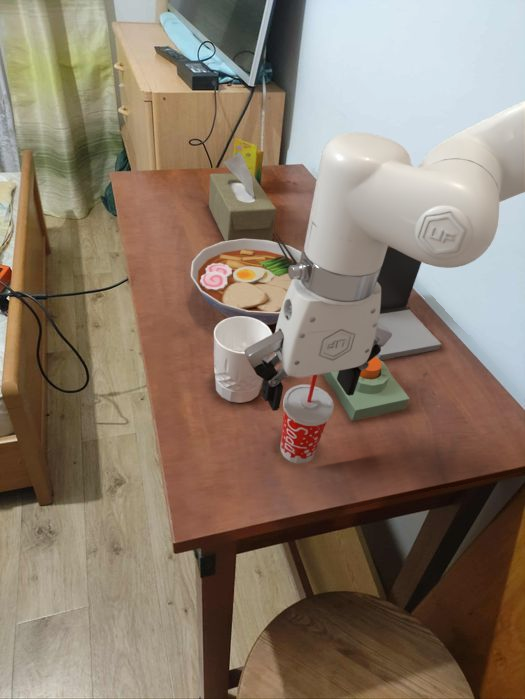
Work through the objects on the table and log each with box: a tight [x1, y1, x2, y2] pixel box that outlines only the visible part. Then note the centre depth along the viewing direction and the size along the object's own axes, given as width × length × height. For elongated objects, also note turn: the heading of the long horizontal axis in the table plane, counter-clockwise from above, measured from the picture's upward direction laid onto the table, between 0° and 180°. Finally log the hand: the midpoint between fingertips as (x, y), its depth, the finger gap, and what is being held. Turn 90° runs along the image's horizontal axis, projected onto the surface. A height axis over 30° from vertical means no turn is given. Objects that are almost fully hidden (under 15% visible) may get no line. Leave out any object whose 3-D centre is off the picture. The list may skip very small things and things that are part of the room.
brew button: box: [360, 357, 382, 379], centre depth 74 cm, size 4×4×2 cm
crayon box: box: [232, 137, 265, 187], centre depth 125 cm, size 7×3×12 cm, turn 52°
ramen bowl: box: [190, 232, 303, 326], centre depth 87 cm, size 25×23×8 cm
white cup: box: [213, 316, 273, 404], centre depth 71 cm, size 8×8×10 cm
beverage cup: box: [279, 374, 335, 464], centre depth 62 cm, size 6×6×14 cm
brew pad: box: [322, 356, 410, 422], centre depth 76 cm, size 11×9×4 cm
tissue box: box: [208, 153, 277, 242], centre depth 108 cm, size 19×10×16 cm, turn 17°
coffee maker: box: [376, 246, 442, 361], centre depth 83 cm, size 17×12×22 cm
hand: (308, 394), depth 60 cm, fingers open, 9 cm apart
